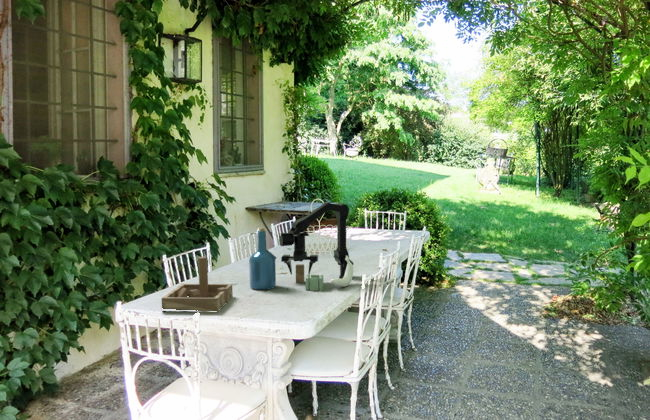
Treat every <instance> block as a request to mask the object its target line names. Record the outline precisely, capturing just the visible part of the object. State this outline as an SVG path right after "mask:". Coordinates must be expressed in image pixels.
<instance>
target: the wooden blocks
mask: <svg viewBox="0 0 650 420" xmlns="http://www.w3.org/2000/svg"><path fill="white" fill-rule="evenodd" d="M197 263H198V264H197V265H198V284H199V290H200V292H199V290H197V289H195V290H190V297H189V298H210V297H209V294H208V284H209V277H208V274H209V273H208V257H207V256H198V259H197ZM221 291H226V303H227V304H229V301H228V289H227V288H224V287H222V288H218V289H217V295H218V294H219V293H220V292H221ZM176 297H184V298H188V297H187V289H185V288H182V289H181V290H180V292H179V293H178V294H177V296H176Z"/></svg>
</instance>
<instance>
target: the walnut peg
mask: <svg viewBox="0 0 650 420" xmlns="http://www.w3.org/2000/svg"><path fill="white" fill-rule="evenodd" d="M304 283H305V264H299V263H298V264H296V265H295V284H304Z"/></svg>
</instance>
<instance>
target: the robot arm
mask: <svg viewBox="0 0 650 420" xmlns="http://www.w3.org/2000/svg"><path fill="white" fill-rule="evenodd" d="M329 211H331V212H334V215H335V218H336V223H337V224H336V225H337V232H336V233H337V247H336V249H333V258H334V260H335V262H336V263H337V265H338V266H339V274H340V275H339V277H338V278H339V279H342V278H343V277H344V274H345V271H346V267H347V261H346V260H345V258H346V255H347V256H348V257H349V261H350V262H351V263H352V265H353V266H354V262H353V261H352V260H351V259H350V255H349V251H348V248H347V220H348V218H349V212H350V207H349V206H348V205H347V204H344V203H337V204H335V203H330V202H328V201H325V202H323V203H322V204H321V205H319V206H318V207H317V208H316V209H314V210H312V211H311V212H310V213H309V214H307V215H306V216H303V217H301V218H298V219H296V220H294V221H293V222H292V226H291V228H290V229H289V230H288V232H280V236H279V238H278V242H279V246H280V247H290V246H291V247H292V246H293V249H294V250H293V254H292V255H293V256H292V255H291V254H283V255H282V256H281V259H280V261H281V263H282V262H283V264H286V265H287V267H288V270H289V273H290V275H293V268H292V261H293V262H303V261H309V262H308V263H309V265H308V275H311V271H312V268H313V265H314V264H315V263H316V262H319V255H318V254H310V256H309V255H308V252H307V251H306V237H309V236H310V234H309V233H308V232H307V231H306V230H308V228H309V227H310V225H311V224H312V223H314V222H315V221H316V220H317V219H319V218H320V217H321V216H323V215H324V214H325V213H327V212H329Z"/></svg>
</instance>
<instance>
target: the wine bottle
mask: <svg viewBox="0 0 650 420" xmlns="http://www.w3.org/2000/svg"><path fill="white" fill-rule="evenodd" d="M276 261H277V257H276V256H275V254H273V253H272V252H270V250H268V249H267V232H266V230H265V227H260V228H258V231H257V251H256V252H254V253H252V254H251V256H250V257H249V263H248V264H249V265H248V266H249V267H248V268H249V287H250V288H251V289H253V290H257V291H261V290H270V289H274V288H275V287H276V286H277V270H276V269H277V268H276V267H277V264H276V263H277V262H276Z"/></svg>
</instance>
